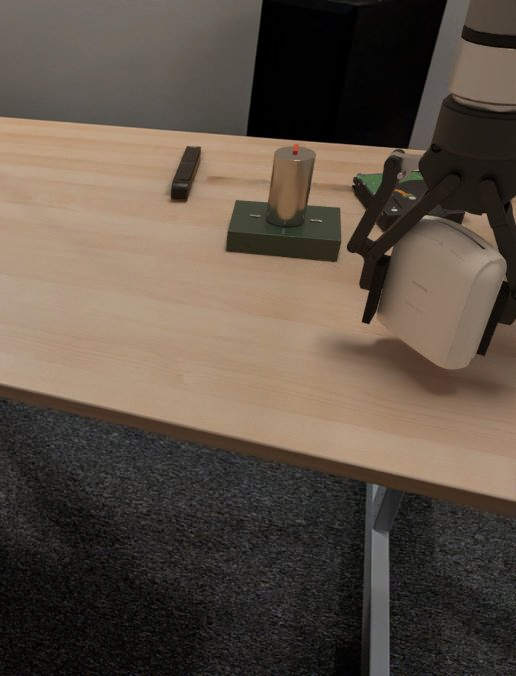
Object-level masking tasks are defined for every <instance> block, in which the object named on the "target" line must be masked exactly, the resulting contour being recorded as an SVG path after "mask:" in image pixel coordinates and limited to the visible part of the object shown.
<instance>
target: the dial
mask: <svg viewBox="0 0 516 676" xmlns="http://www.w3.org/2000/svg"><path fill="white" fill-rule="evenodd" d="M316 157H317V153H316V151H315V150H313V149H311V148H308V147H304V146H300V144H299V143H294V144H293V146H292V145H291V146H290V145H288V146H282V147H279V148H277V149H275V151H274V152H273V160H272V168H271V175H270V176H271V177H270V182H269V189H268V190H269V191H268V199H267V202H268V205H267V213H266V219H267V221H268V222H270V223H272V224H274V225H277V226H283V227H293V226H298V225H301V224H302V223H304V221H305V217H306V211H307V205H308V204H309V199H310V194H311V193H310V192H311V188H312V180H313V175H314V170H315V163H316Z"/></svg>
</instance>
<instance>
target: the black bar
mask: <svg viewBox="0 0 516 676" xmlns="http://www.w3.org/2000/svg"><path fill="white" fill-rule="evenodd" d="M201 155H202V146H197V145H187V146H186V147H185V149H184V152H183V154H182V156H181V159H180V162H179V165H178V167H177V169H176V172H175V174H174V177H173V178H172V182H171V188H170V199H171V200H180V201H188V199H189V196H190V192H191V190H192V187H193V184H194V180H195V177H196V175H197V172H198V169H199V166H200V164H201V159H202V158H201Z"/></svg>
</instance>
